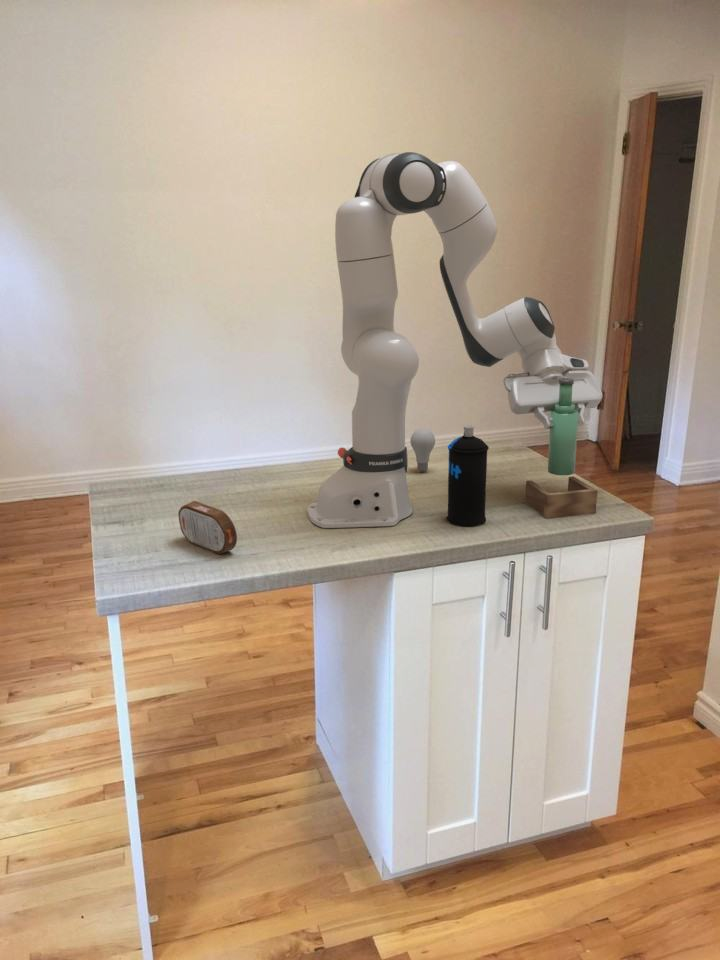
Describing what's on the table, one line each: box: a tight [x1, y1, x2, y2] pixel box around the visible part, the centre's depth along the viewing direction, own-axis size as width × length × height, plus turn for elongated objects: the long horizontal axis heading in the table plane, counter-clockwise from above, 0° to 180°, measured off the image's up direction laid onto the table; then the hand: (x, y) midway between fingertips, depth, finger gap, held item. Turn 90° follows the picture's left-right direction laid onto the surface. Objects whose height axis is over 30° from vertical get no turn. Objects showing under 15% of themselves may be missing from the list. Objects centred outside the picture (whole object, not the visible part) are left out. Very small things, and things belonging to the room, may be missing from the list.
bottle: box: [547, 378, 579, 476], centre depth 165 cm, size 6×6×20 cm
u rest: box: [524, 475, 598, 519], centre depth 169 cm, size 11×10×5 cm
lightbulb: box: [410, 428, 436, 473], centre depth 195 cm, size 6×6×11 cm
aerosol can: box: [445, 425, 489, 528], centre depth 161 cm, size 8×8×20 cm
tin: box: [178, 500, 238, 555], centre depth 151 cm, size 15×3×8 cm, turn 48°
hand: (565, 426), depth 164 cm, fingers closed on bottle, 6 cm apart
